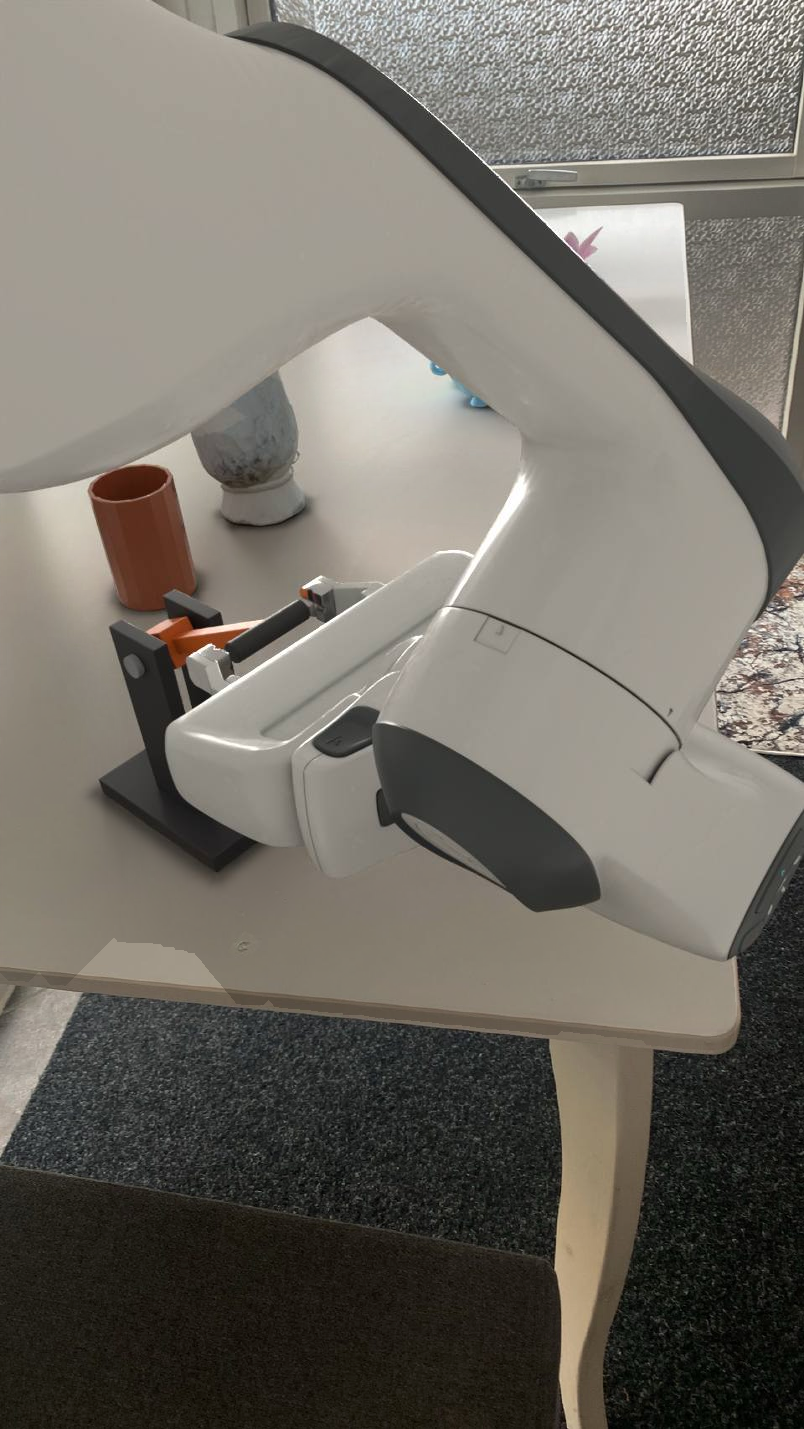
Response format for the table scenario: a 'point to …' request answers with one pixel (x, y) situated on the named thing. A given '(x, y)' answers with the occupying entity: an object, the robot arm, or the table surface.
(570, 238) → the lily
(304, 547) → the table surface
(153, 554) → the cup
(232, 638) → the switch lever
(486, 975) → the table surface
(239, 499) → the figurine
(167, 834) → the pivoting lever stand
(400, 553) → the table surface
